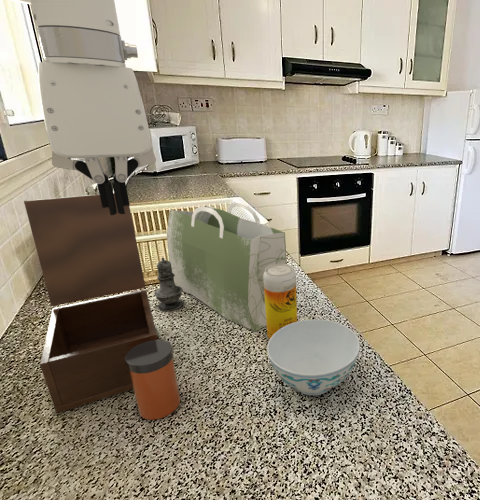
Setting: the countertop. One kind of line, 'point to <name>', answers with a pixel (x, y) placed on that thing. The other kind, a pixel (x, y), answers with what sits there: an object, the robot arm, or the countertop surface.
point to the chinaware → (313, 354)
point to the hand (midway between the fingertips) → (117, 211)
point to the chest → (94, 347)
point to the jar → (153, 378)
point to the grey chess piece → (167, 288)
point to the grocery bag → (224, 260)
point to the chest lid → (84, 248)
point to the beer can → (280, 297)
